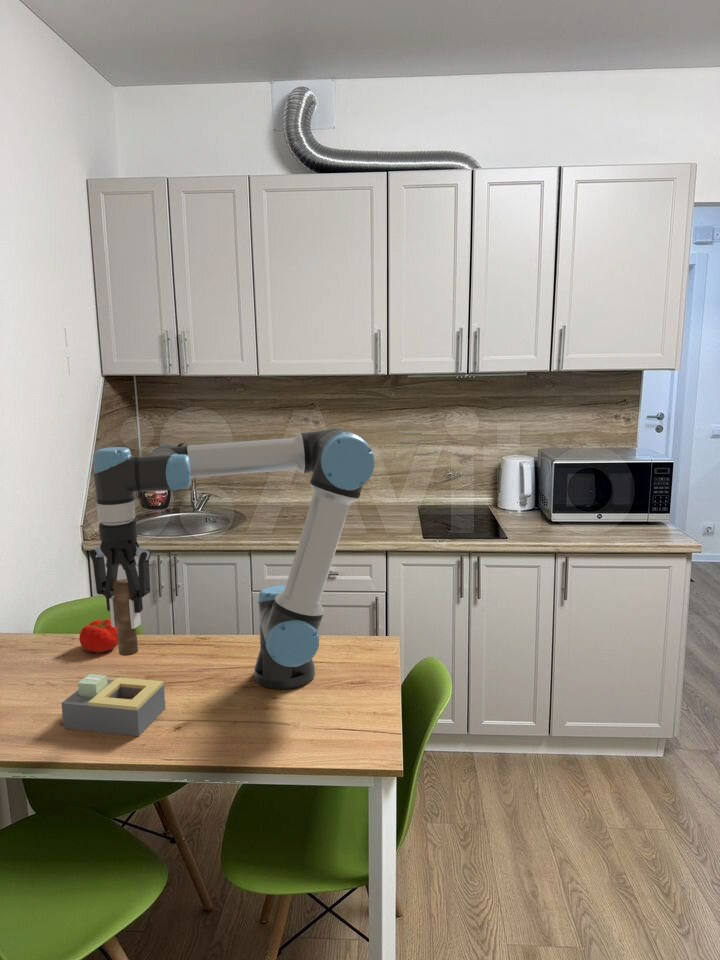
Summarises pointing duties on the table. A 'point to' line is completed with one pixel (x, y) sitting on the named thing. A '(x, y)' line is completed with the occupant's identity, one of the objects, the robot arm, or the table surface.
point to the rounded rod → (124, 619)
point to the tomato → (99, 636)
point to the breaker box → (116, 707)
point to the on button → (92, 685)
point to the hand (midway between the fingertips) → (126, 625)
